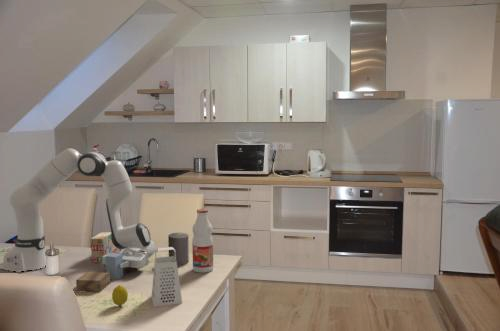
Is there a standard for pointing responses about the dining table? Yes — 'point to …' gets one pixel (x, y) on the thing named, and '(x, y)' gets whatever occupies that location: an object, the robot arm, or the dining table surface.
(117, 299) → the lemon
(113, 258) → the slate block
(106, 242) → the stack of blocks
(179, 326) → the dining table surface
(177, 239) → the pillar candle
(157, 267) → the grater
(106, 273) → the walnut block
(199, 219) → the fruit juice
